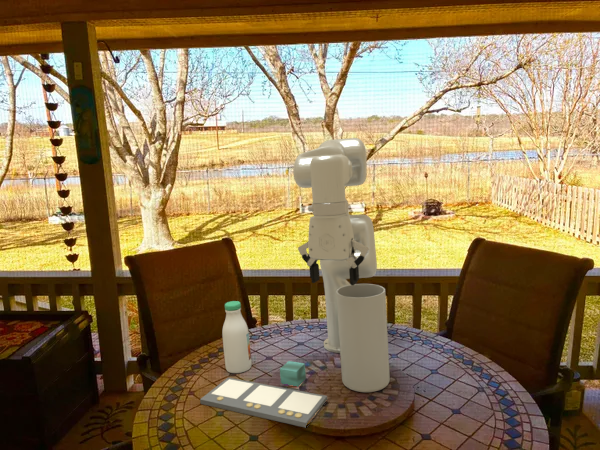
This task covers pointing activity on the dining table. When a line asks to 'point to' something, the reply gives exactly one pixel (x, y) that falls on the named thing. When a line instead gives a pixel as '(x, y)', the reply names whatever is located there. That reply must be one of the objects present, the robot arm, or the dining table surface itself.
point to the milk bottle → (236, 339)
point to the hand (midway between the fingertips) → (334, 282)
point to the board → (265, 401)
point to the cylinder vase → (363, 337)
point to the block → (293, 373)
